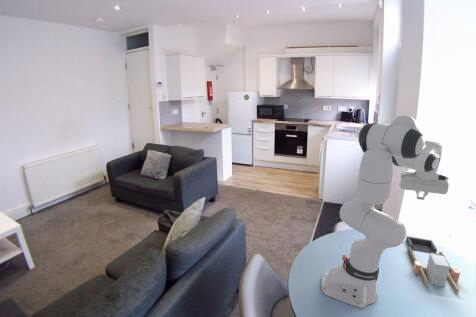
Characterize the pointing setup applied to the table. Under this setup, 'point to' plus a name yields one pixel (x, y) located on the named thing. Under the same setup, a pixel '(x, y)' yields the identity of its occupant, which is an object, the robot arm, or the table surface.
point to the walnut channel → (415, 258)
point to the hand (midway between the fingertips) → (420, 199)
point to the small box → (437, 270)
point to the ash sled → (449, 277)
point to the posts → (454, 272)
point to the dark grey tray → (421, 245)
